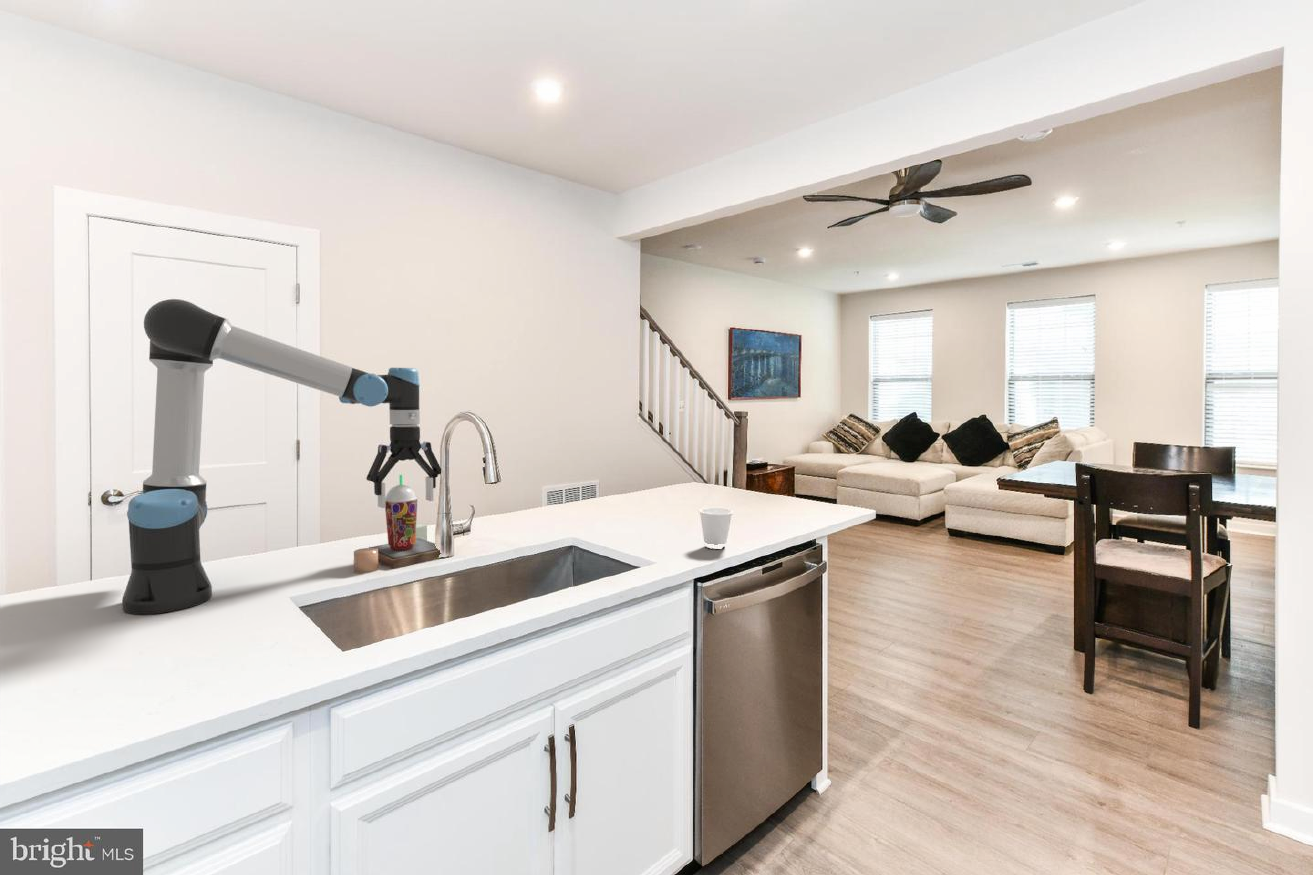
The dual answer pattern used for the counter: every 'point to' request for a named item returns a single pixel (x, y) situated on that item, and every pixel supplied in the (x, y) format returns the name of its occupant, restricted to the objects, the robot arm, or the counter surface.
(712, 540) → the cup
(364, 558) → the rounded peach cube
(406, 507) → the smoothie
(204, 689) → the counter surface
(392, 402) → the robot arm
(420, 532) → the sage box
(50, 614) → the counter surface
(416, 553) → the podium
